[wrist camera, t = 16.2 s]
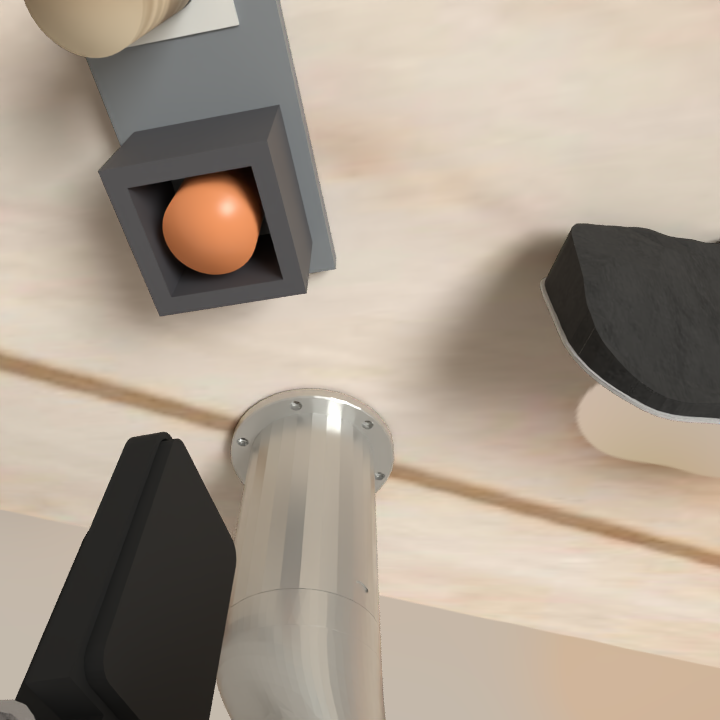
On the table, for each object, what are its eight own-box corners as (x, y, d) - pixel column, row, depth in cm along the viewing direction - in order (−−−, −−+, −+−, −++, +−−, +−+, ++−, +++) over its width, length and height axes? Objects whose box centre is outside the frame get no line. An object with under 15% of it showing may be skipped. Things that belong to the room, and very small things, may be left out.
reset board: (336, 257, 40) (333, 322, 34) (184, 282, 41) (155, 349, 35) (243, -166, 28) (212, -181, 22) (30, -117, 29) (-54, -119, 23)
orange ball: (276, 225, 37) (267, 266, 33) (199, 238, 37) (180, 280, 33) (255, 146, 34) (241, 180, 30) (172, 161, 34) (148, 197, 30)
